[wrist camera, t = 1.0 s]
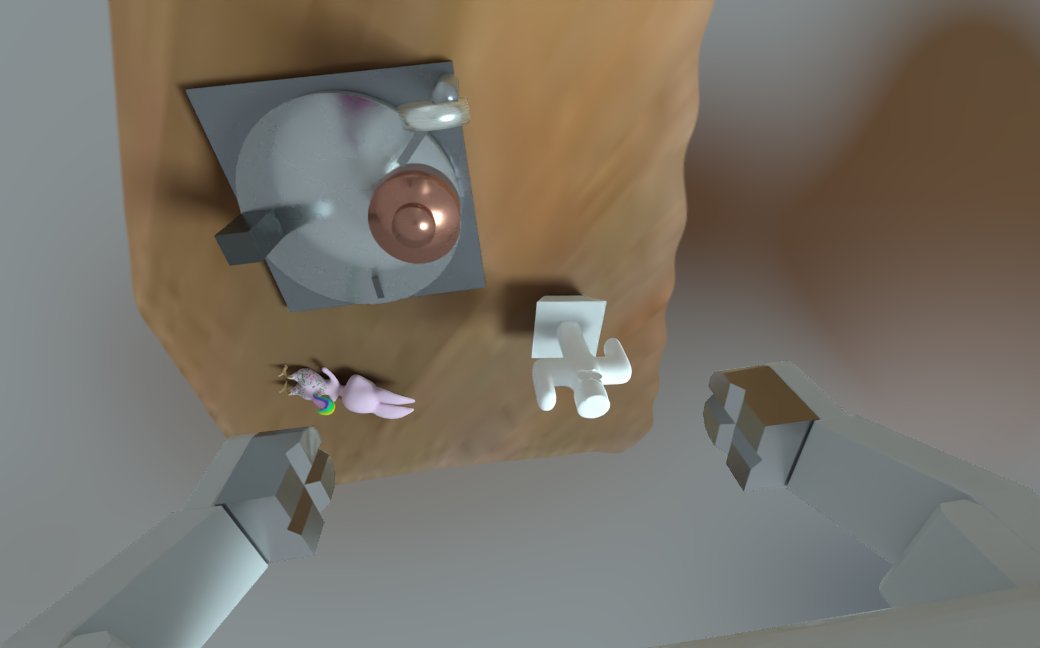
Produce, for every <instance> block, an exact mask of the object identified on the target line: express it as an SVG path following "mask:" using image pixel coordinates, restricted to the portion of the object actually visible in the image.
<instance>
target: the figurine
mask: <svg viewBox="0 0 1040 648" xmlns="http://www.w3.org/2000/svg"><path fill="white" fill-rule="evenodd" d="M606 302H607V301H603V300H599V299H595V298H591V297H587V296H583V295H577V296H543V297H542V298H541V299H540V300H539V301H537V306H536V317H535V328H534V339H533V349H532V358H542V359H539V360H537V361H536V362H535V363H534V365H533V370H532V375H533V382H534V387H535V392H536V397H537V402H538V405H539V407H540V408H541V409H542V410H545V411H548V410H551V409H552V408H553V407H554V405H555V403H556V393H555V389H554V386H568V387H570V388H572V389H573V391H574V400H575V404H576V408H577V411H578V413H579V415H581V416H582V417H585V418H596V417H599V416H601V415H603V414H605V413H606V412H607V411H608V410H609V408H610V402H609V399H608V396H607V393H606V390H605V388H604V386H603V384H622V383H626V382H627V381H628V380H629V379H630V377H631V366H630V363H629V360H628V358H627V356H626V354H625V352H624V350H623V348H622V346H621V344H620V342H619V341H618V340H617V339H616V338H610V339H608V340H607V341H606V343H605V345H604V354H605V356H606V357H596V352H597V347H598V342H599V337H600V332H601V327H602V322H603V317H604V312H605V307H606ZM558 357H563V358H558Z"/></svg>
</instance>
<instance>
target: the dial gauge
mask: <svg viewBox="0 0 1040 648" xmlns="http://www.w3.org/2000/svg"><path fill="white" fill-rule="evenodd" d="M458 94H459V81H458V79H457V77H456V76H455V75H453V74H452V73H445V74H443V75H442V76H441V77H440V79H439V81H438V82H437V84H436V86H435V88H434V90H433V92H432V99H428V100H421V101H415V102H410V103H406V104H403V105H400V106H398V107H397V109H398V113H399V117H400V122H401V126H402V129H403V130H405V131H416V132H415V134H414V135H413V137H412V138H411V140H410V141H409V143H408V144H407V146H406V148H405V149H404V151H403V152H402V154H401V155H400V157H399V158H398V160H397V162H396V163H398V164H399V165H400V166H402V167H403V168H404V167H405V165H406V164H407V162H408V161H409V159H410V158H411V156H412V155H413V153H414V152H415V150H416V149H417V147H418V146H419V144H420V143H421V141H422V140H423V138H424V137H425V135H426V134H427V132H428V131H433V130H441V129H447V128H453V127H457V126H461V125H464V124H467V123H469V122H470V121H471V118H470V110H469V103H468V99H467V98H463V97H458Z"/></svg>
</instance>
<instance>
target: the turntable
mask: <svg viewBox="0 0 1040 648" xmlns="http://www.w3.org/2000/svg"><path fill="white" fill-rule="evenodd" d="M415 132H416V131H405V130H403V129H402V126H401V122H400V117H399V113H398V109H397V107H395V106H393V105H392V104H390V103H388V102H386V101H383V100H380V99H378V98H375V97H373V96H369V95H365V94H361V93H357V92H350V91H341V90H334V91H320V92H315V93H309V94H306V95H303V96H301V97H298V98H295V99H292V100H290V101H287V102H285V103H283V104H281V105H279V106H278V107H276V108H274V109H272V110H271V111H270V112H268V113H267V114H266V115H265V116H264V117H262V118H261V119H260V120H259V121H258V122H257V124H256V125H255V126H254V127H253V128H252V129H251V131H250V133H249V134H248V136H247V138H246V139H245V141H244V143H243V146H242V148H241V151H240V154H239V157H238V162H237V167H236V193H237V200H238V204H239V207H240V211H241V215H239V216H238V217H237V218H236V219H234V220H233V221H232V222H231V223H229V224H228V225H227V226H226V227H225V228H223V229H222V230H221V231H220V232H218V233H217V234H216V235H215V236H214V237H215V238H216V240H217V242H218V244H219V246H220V248H221V250H222V252H223V254H224V255H225V257H226V259H227V261H228V263H229V265H238V264H246V263H255V262H262V261H263V260H264V259H265V258H266V257H268V259H269V260H270V261H271V262H272V263H273V264H274V265H275V266H276V267H278V268H279V269H280V270H281V271H282V272H283V273H284V274H286V275H287V276H289V277H290V278H291V279H293V280H294V281H296V282H297V283H299V284H301V285H302V286H304V287H306V288H307V289H310V290H312V291H314V292H316V293H318V294H321V295H323V296H326V297H329V298H332V299H336V300H340V301H344V302H350V303H357V304H378V303H386V302H392V301H396V300H399V299H403V298H406V297H408V296H410V295H413V294H415V293H417V292H419V291H420V290H422V289H423V288H425V287H427V286H428V285H429V284H430V283H432V282H433V281H434V280H435V279H436V278H437V277H438V276H439V275H440V274H441V273H442V272H443V271H444V269H445V268H446V266H447V265H448V263H449V262H450V260H451V258H452V256H453V254H454V252H455V250H456V247H457V244H458V240H459V236H460V233H459V236H458V239H457V241H456V243H455V245H454V247H453V248H452V249H451V250H450V251H449V252H448V253H447V254H446V255H445V256H443V257H442V258H440V259H438V260H436V261H433V262H430V263H424V264H413V263H407V262H404V261H401V260H398V259H396V258H394V257H392V256H391V255H389V254H388V253H386V252H385V251H384V250H383V249H382V248H381V247H380V246H379V245H378V244H377V242H376V241H375V239H374V237H373V236H372V233H371V231H370V228H369V224H368V209H369V205H370V202H371V200H372V198H373V196H374V194H375V192H376V190H377V189H378V187H379V185H380V183H381V181H382V180H383V178H384V177H385V176H386V175H387V174H388V173H389V172H390V171H391V170H393V169H394V168H396V167H398V166H400V165H399V164H398V163H396V162H397V160H398V158H399V157H400V155H401V154H402V152H403V151H404V149H405V148H406V146H407V144H408V143H409V141H410V140H411V138H412V137H413V135H414V134H415ZM409 163H420V164H425V165H429V166H432V167H434V168H436V169H438V170H439V171H441V172H442V173H444V174H445V175H446V176H447V177H448V178H449V179H450V180H451V181H452V183H453V184H454V186H455V188H456V190H457V192H458V195H459V198H460V204H461V195H460V190H459V186H458V182H457V179H456V176H455V173H454V170H453V168H452V166H451V164H450V162H449V160H448V158H447V156H446V154H445V153H444V151H443V150H442V148H441V147H440V145H439V144H438V142H437V141H436V140H435V139H434V138H433V137H432V135H431V134H430V133H429V132H427V134H426V135H425V137H424V138H423V140H422V141H421V143H420V144H419V146H418V147H417V149H416V150H415V152H414V153H413V155H412V156H411V158H410V159H409V161H408V162H407V164H409ZM461 215H462V206H461ZM460 230H461V219H460Z"/></svg>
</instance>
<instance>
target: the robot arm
mask: <svg viewBox="0 0 1040 648" xmlns="http://www.w3.org/2000/svg"><path fill="white" fill-rule="evenodd" d="M709 388H710V389H711V390H712V392H713V395H712V396H711V397H710V398H709V399H708V400H707V401H706V402H705V406H704V412H703V417H704V423H705V428H706V430H707V433H708V436H709V438H710V439H711V441H712V442H713V444H714V446H715V447H717V448H719V449H720V450H722V451H724V452H725V453H727V454H728V456H727V460H726V465H727V466H728V468H729V469H730V471H731V472H732V474H733V476H734V477H735V479H736V480H737V482H738V484H739V485H740V487H741V488H742V490H743V491H744V492H745V491H754V490H762V489H770V488H779V487H787V488H786V489H787V490H789V491H790V492H791V493H793V494H794V495H796V496H797V497H798V498H800V499H801V500H803V501H804V502H806V503H807V504H808V505H810V506H811V507H812V508H814V509H815V510H817V511H818V512H819V513H821V514H822V515H824V516H825V517H826V518H828V519H829V520H831V521H832V522H833V523H835V524H836V525H838V526H839V527H840V528H842V529H843V530H845V531H846V532H848V533H849V534H850V535H852V536H853V537H855V538H856V539H858V540H859V541H860V542H862V543H863V544H864V545H866V546H867V547H869V548H870V549H872V550H873V551H874V552H876V553H877V554H879V555H880V556H881V557H883V558H884V559H886V560H887V561H888V562H890V563H891V564H893V567H892V568H891V569H890V571H889V572H888V573H887V575H886V576H885V577H884V579H883V580H882V581H881V584H880V588H879V592H880V593H881V594H882V596H883V597H884V598H885V600H886V601H887V602H888V604H889V605H890V606H891V607H892V608H888V609H882V610H876V611H871V612H864V613H858V614H852V615H846V616H839V617H833V618H827V619H821V620H815V621H809V622H803V623H797V624H790V625H785V626H778V627H772V628H766V629H760V630H754V631H748V632H741V633H735V634H730V635H724V636H717V637H711V638H705V639H699V640H693V641H687V642H680V643H674V644H668V645H662V646H656V647H650V648H1040V496H1039V495H1038V494H1037V493H1035V492H1034V491H1033V490H1031V489H1030V488H1029V487H1026V486H1024V485H1021V484H1019V483H1017V482H1014V481H1012V480H1010V479H1007V478H1005V477H1002V476H1000V475H998V474H996V473H993V472H991V471H988V470H986V469H984V468H981V467H979V466H976V465H974V464H972V463H969V462H967V461H965V460H962V459H960V458H958V457H955V456H953V455H951V454H948V453H946V452H944V451H941V450H939V449H937V448H934V447H932V446H930V445H927V444H925V443H922V442H920V441H918V440H915V439H913V438H911V437H908V436H906V435H904V434H901V433H899V432H897V431H894V430H892V429H890V428H887V427H885V426H882V425H880V424H878V423H875V422H873V421H871V420H868V419H866V418H864V417H861V416H859V415H853V416H849V415H848V414H847V413H846V412H845V411H844V410H843V409H842V408H841V407H840V406H839V405H838V404H836V403H835V402H834V401H833V400H832V399H831V398H830V397H829V396H828V395H827V394H826V393H825V392H824V391H823V390H822V389H820V388H819V387H818V386H817V385H816V384H815V383H814V382H813V381H812V380H811V379H810V378H808V376H806V374H805V373H803V372H802V371H801V370H800V369H799V368H798V367H797V366H796V365H795V364H793V363H791V362H788V361H783V362H776V363H769V364H763V365H758V366H750V367H744V368H736V369H730V370H722V371H716V372H714V373H713V375H712V376H711V378H710V383H709ZM321 440H322V439H321V437H320V436H319V434H318V432H317V430H316V428H313V427H302V428H293V429H284V430H276V431H267V432H259V433H255V434H245V435H235V436H232V437H230V438H229V439H227V440H226V441H225V442H224V444H223V445H222V447H221V448H220V450H219V451H218V453H217V455H216V456H215V458H214V459H213V461H212V463H211V464H210V466H209V467H208V469H207V471H206V472H205V474H204V475H203V477H202V478H201V480H200V482H199V483H198V485H197V486H196V488H195V490H194V491H193V493H192V495H191V496H190V497H189V499H188V501H187V502H186V504H185V505H184V507H183V509H182V510H181V511H177V512H172V513H171V514H169V515H168V516H167V517H165V518H164V519H163V520H161V521H160V522H159V523H158V524H156V525H155V526H154V527H152V528H151V529H150V530H148V531H147V532H146V533H145V534H143V535H142V536H141V537H139V538H138V539H137V540H135V541H134V542H133V543H132V544H130V545H129V546H128V547H126V548H125V549H124V550H122V551H121V552H120V553H119V554H117V555H116V556H115V557H114V558H112V559H111V560H110V561H108V562H107V563H106V564H104V565H103V566H102V567H100V568H99V569H98V570H97V571H95V572H94V573H93V574H91V575H90V576H89V577H87V578H86V579H85V580H83V581H82V582H81V583H80V584H78V585H77V586H76V587H74V588H73V589H72V590H71V591H69V592H68V593H67V594H65V595H64V596H63V597H61V598H60V599H59V600H58V601H56V602H55V603H54V604H52V605H51V606H50V607H48V608H47V609H46V610H45V611H44V612H42V613H41V614H39V615H38V616H37V617H36V618H34V619H33V620H31V621H30V622H29V623H28V624H26V625H25V626H24V627H22V628H21V629H20V630H18V631H17V632H16V633H15V634H13V635H12V636H11V637H9V638H8V639H7V640H5V641H4V642H3V643H2V644H1V645H0V648H201V647H202V646H203V645H204V643H205V642H206V641H207V639H209V637H210V636H211V635H212V634H213V633H214V631H215V630H216V629H217V628H218V626H219V625H220V624H221V623H222V622H223V621H224V619H225V618H226V617H227V616H228V614H229V613H230V612H231V611H232V610H233V608H234V607H235V606H236V604H237V603H238V602H239V601H240V600H241V599H242V597H243V596H244V595H245V594H246V593H247V592H248V590H249V589H250V588H251V587H252V585H253V584H254V583H255V582H256V580H257V579H258V578H259V577H260V576H261V575H262V573H263V572H264V571H265V570H266V569H267V567H268V565H267V564H269V563H274V562H280V561H286V560H292V559H298V558H303V557H309V556H314V554H315V551H316V548H317V545H318V542H319V538H320V535H321V532H322V529H323V525H324V520H323V518H322V516H321V514H320V512H321V511H322V510H323V509H324V508H325V507H326V506H327V505H328V504H329V503H330V502H331V499H332V495H333V492H334V488H335V470H334V465H333V462H332V460H331V458H330V455H329V454H327V453H326V452H324V451H322V450H320V449H319V445H320V443H321Z"/></svg>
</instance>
